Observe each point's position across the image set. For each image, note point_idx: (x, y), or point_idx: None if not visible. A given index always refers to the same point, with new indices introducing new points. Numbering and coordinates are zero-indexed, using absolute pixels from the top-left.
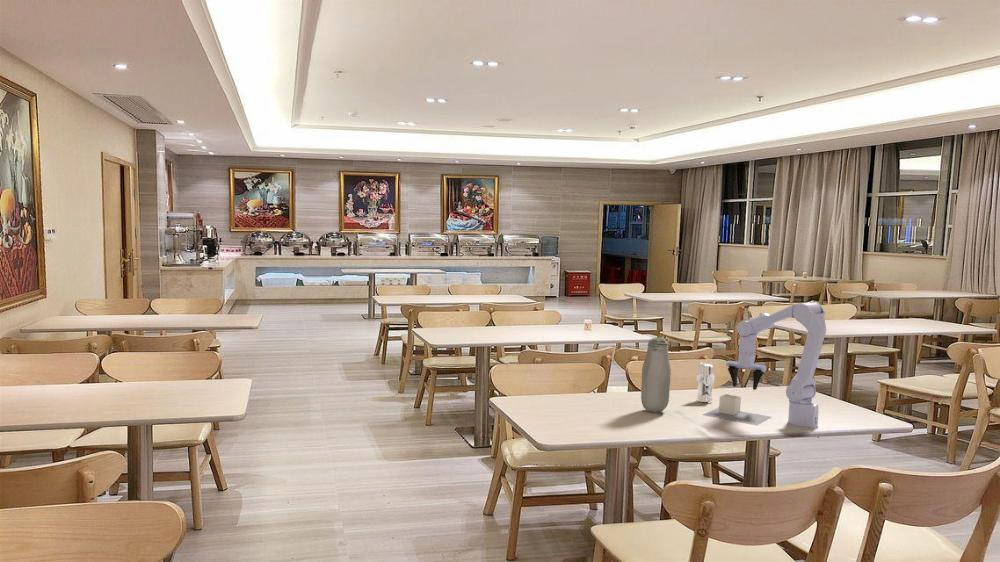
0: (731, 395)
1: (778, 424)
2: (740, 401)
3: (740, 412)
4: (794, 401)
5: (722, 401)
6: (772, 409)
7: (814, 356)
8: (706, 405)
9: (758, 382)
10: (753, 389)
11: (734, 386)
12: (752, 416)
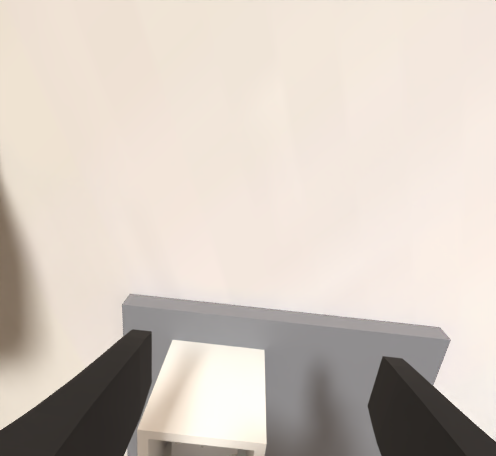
0: (190, 441)
1: (473, 386)
2: (265, 409)
3: (267, 350)
4: None
5: None
6: (438, 11)
7: None
8: (17, 221)
9: (478, 429)
10: (372, 408)
11: (149, 385)
12: (343, 391)
